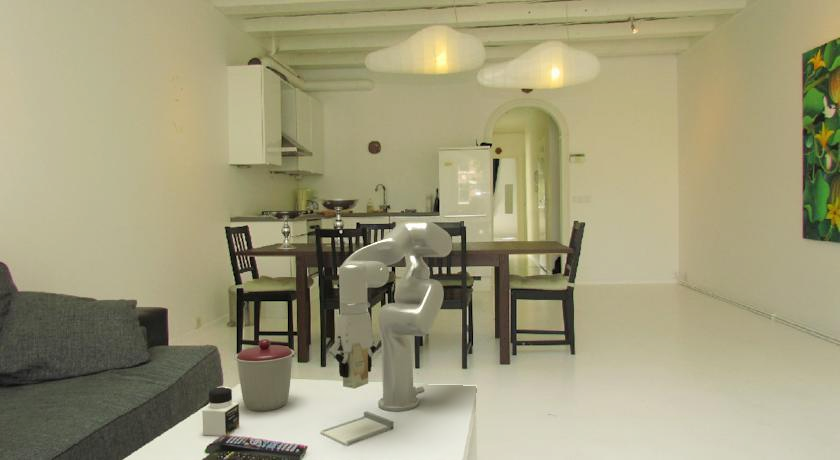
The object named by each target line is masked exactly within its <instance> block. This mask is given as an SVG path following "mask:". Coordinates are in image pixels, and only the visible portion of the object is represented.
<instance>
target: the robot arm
mask: <svg viewBox="0 0 840 460" xmlns="http://www.w3.org/2000/svg"><path fill="white" fill-rule="evenodd" d="M452 249H453V239H452V237H451V235H450V234H449V233H448V231H446V230H445V229H443V228H442V227H441V226H440V225H438V224H436V223H435V222H432V221H429V220H413V221H412V220H407V221H401V222H399V223H398V224H397V225H395V227H393V228H392V229H391V230H390V232H388V233H387V234H386V235H385V236H384V237H383V238H382V239H381V240H379V241H376V242H374V243H371V244H369V245H366V246H363V247H362V248H359V249H357V250H356V251H354V252H353V253H352V254H350V255H349V256H348V257H347V258H346V259H345V260H344V261H343V262H342V264H341V265H340V267H339V269H338V276H339V277H338V280H339V281H338V282H339V283H338V284H339V287H338V288H339V314H337V317H336V321H335V331H334V343H333V344H332V346H331V347H330V348H329V349H328V351H329V353H330V354H331V355H332V357H333V358H334V360H336V362H338V372H339V376H340V377H341V378H343V377H344V378H348V377H349V372H348V363H346V361H347V358H348V356H349V353H350V352H352V346H353V343H360V345H361V347H362V349H367V350H368V373H370V372H371V371H372V357H373V356H374V352H375V351H376V348H377V347H378V344H379V343H380V342H381V365H382V366H381V368H382V369H381V370H382V372H381V373H382V397H381V398H380V399H379V400H378V401H377V403H378V404H377V405H378V408H380V409H382V410H386V411H391V412H399V411H400V412H402V411H408V410H411V409H412V410H413V409H414V408H416V407H417V406H418V405H419V398H418V397H417V396H418V395H419V394H422V393H425V388H424V386H419V387H416V386H414V366H413V365H414V364H413V363H414V361H413V345H412V343H411V341H410V340H411V339H409V337H408V336H412V337H413V336H415V337H424V336H427V335H428V334H429V333H430V332H432V331H431V330H432V329H433V327H434V324H435V322H436V319H437V318H438V315H439V312H440V311H441V307H442V305H443V302H444V295H445V293H444V286H443V284H442V283H441V282H440V281H439V280H436V279H433V278H430V276H431V271H430V269H429V267H428V265H427V263H426V262H425V261H424V259H423V257H424V258H426V257H427V258H444V257H448V255H450V253H451V252H452ZM403 258H405V259H404V261H405V269H404V271H403V274H402V276H401V278H400V280H399V282H398V284H397V287H395V290H394V294H393V295H394V296H393V298H394V302H390V303H385V304H384V305H382V306H381V307H380V308H379V310H378V313H377V325H378V330H379V333H380V334H379V335H380V341H379V339H378V338H377V337H376V336H375V335H373V334H374V333H373V325H372V324H373V323H372V319H371V314H370V312H369V310H368V309H369V308H370V307H371V302H369V301H368V289H369V288H376V289H377V288H381V287H383V286H384V285H386V283H387V282H388V281H389V277H390V271H389V268H388V266H391V265H394V264H397V263H399V262H400V261H401V260H402V259H403ZM343 353H344V355H343Z"/></svg>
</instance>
